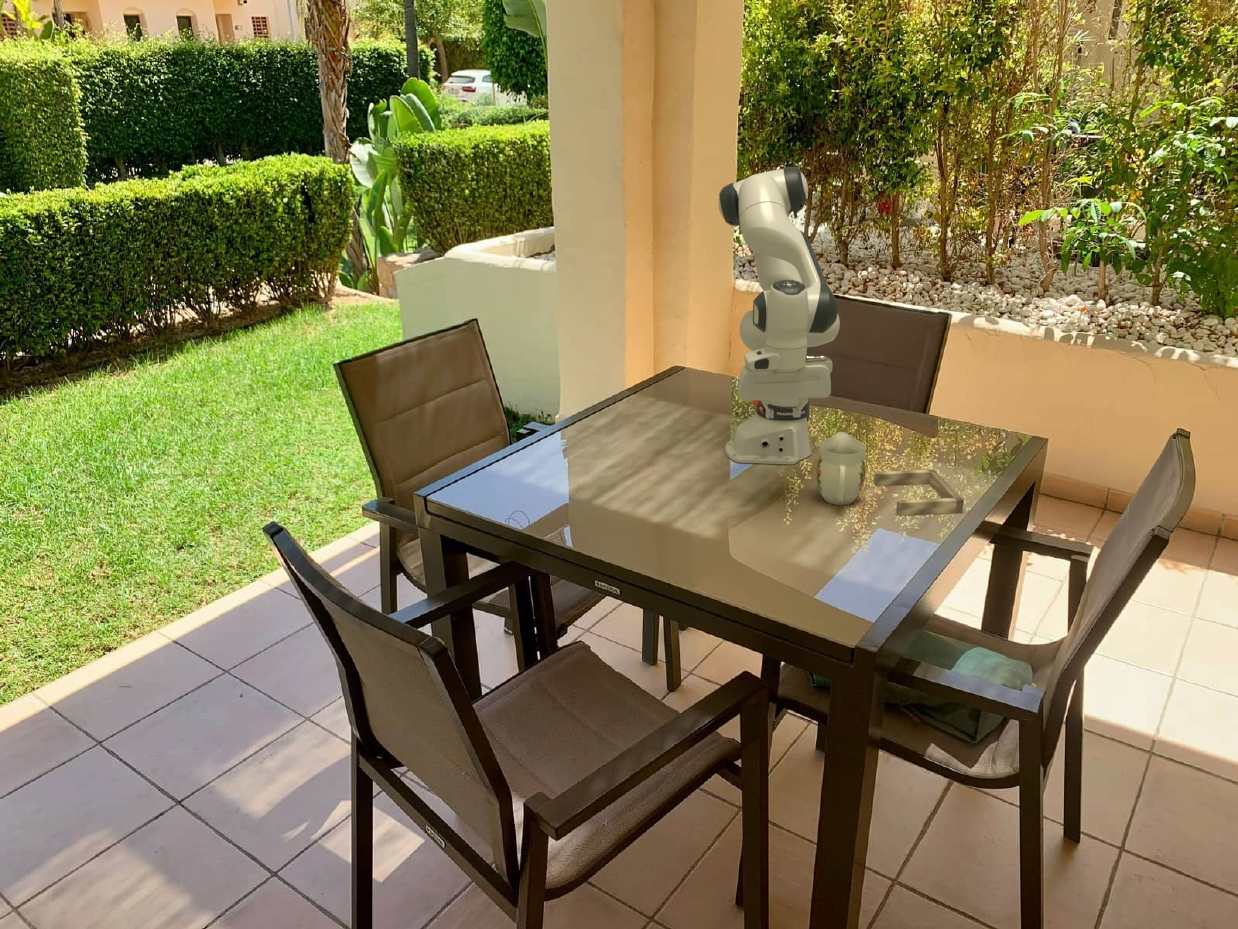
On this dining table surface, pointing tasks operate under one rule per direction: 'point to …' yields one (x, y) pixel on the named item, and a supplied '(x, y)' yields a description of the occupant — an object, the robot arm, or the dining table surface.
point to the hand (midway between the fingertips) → (783, 417)
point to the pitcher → (840, 468)
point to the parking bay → (922, 506)
